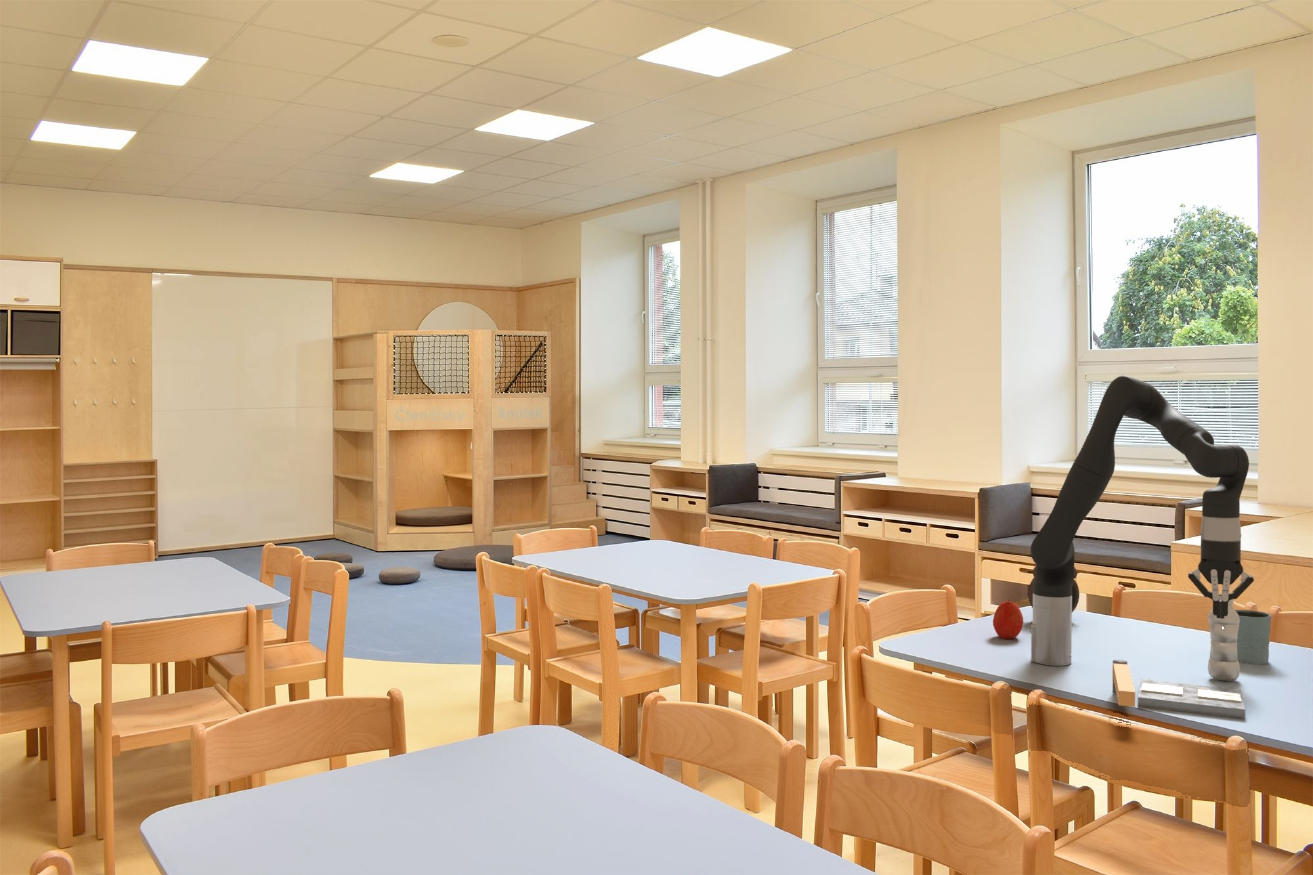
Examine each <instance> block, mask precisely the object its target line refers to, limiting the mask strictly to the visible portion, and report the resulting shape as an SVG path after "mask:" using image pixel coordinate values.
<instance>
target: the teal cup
mask: <svg viewBox="0 0 1313 875" xmlns="http://www.w3.org/2000/svg"><path fill="white" fill-rule="evenodd" d="M1235 611H1236V612H1237V614H1238V615H1239V618H1240V622H1239V629H1238V635H1237V655H1238V662H1239V664H1240V663H1241V664H1248V665H1266V664H1268V663H1269V657H1270V656H1269V655H1270V650H1269V648H1270V643H1271V641H1270V635H1271V623H1272V614H1270V613H1268V612H1266V611H1265V612H1264V611H1258V610H1248V609H1235Z"/></svg>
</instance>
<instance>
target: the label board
mask: <svg viewBox="0 0 1313 875" xmlns="http://www.w3.org/2000/svg"><path fill="white" fill-rule="evenodd" d="M1137 707H1142V708H1149V709H1157V710H1167V711H1174V712H1175V711H1176V712H1183V713H1192V714H1200V715H1206V716H1215V717H1216V716H1217V717H1224V718H1233V719H1240V720H1241V719H1242V720H1246V708H1245V703H1244V696H1243V691H1242V690H1241V689H1237V688H1236V689H1234V688H1226V687H1225V688H1224V687H1215V686H1208V685H1198V684H1189V683H1178V682H1170V681H1159V680H1153V679H1152V680H1151V679H1142V678H1140V683H1139V689H1138V695H1137Z"/></svg>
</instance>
